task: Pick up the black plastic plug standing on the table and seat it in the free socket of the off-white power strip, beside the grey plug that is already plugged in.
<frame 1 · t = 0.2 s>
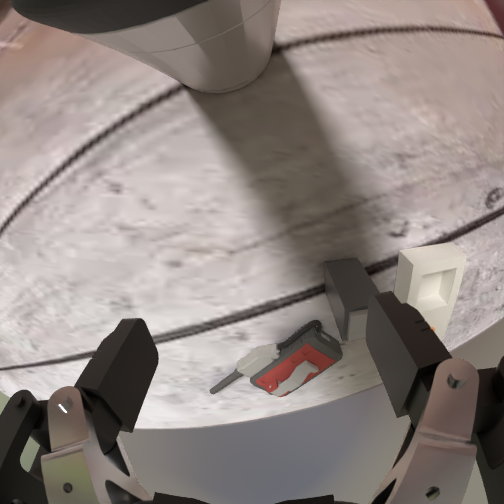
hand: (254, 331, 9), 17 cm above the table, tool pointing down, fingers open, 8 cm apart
power strip: (415, 308, 30), on the table
walkie-talkie: (272, 363, 35), on the table
plug: (340, 274, 28), on the table
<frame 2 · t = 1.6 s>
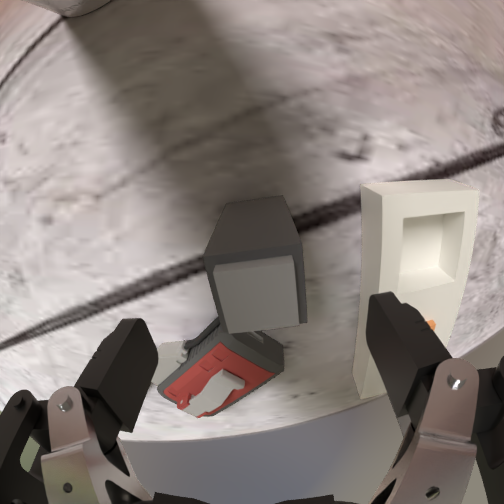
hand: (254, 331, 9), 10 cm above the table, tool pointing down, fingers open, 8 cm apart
power strip: (403, 291, 20), on the table
walkie-talkie: (192, 369, 24), on the table
plug: (258, 226, 18), on the table
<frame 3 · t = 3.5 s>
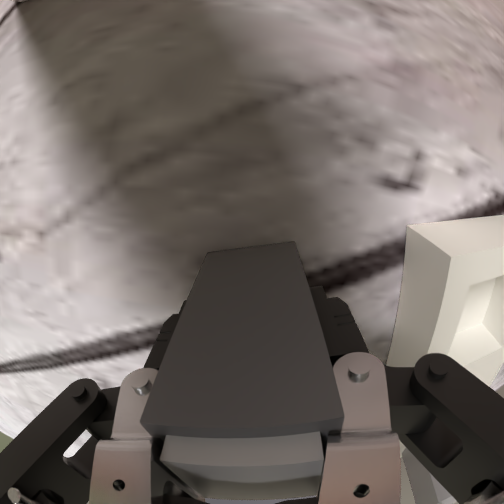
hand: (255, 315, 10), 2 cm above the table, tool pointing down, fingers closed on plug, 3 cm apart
power strip: (436, 352, 14), on the table
plug: (256, 285, 12), on the table, touching gripper
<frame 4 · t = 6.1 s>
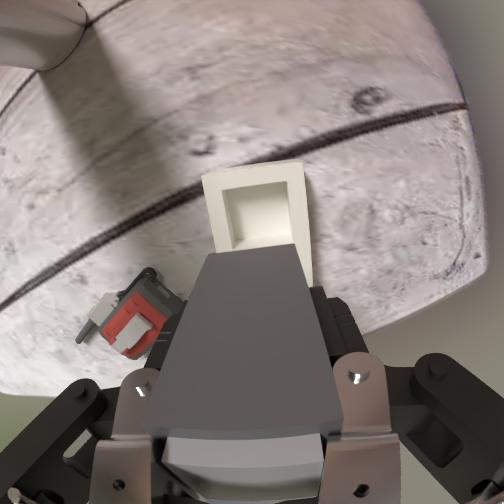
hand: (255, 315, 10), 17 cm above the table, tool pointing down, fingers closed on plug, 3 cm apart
power strip: (265, 255, 27), on the table
walkie-talkie: (126, 319, 32), on the table
plug: (256, 286, 12), point 14 cm above the table, touching gripper
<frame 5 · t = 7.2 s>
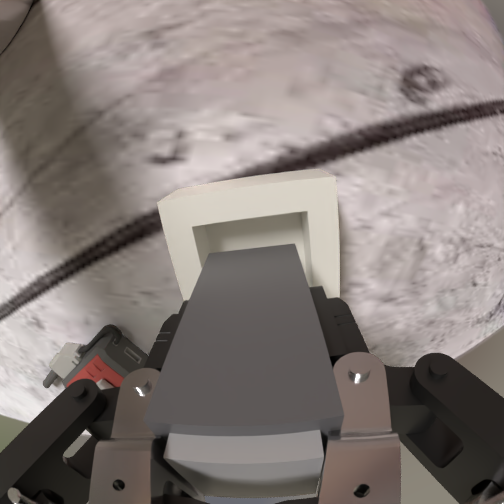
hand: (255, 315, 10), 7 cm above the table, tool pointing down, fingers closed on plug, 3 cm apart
power strip: (267, 313, 18), on the table
walkie-talkie: (94, 371, 23), on the table
plug: (256, 286, 12), point 5 cm above the table, touching gripper
when the fingers open (5 cm above the table, at t = 8.3 s): plug drops 1 cm, resting on power strip.
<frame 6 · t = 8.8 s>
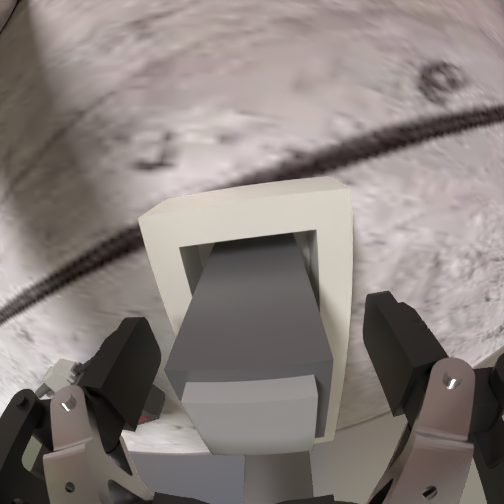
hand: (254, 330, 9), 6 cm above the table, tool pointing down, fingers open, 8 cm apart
power strip: (267, 335, 16), on the table
walkie-talkie: (89, 387, 21), on the table
plug: (258, 271, 13), point 1 cm above the table, touching power strip
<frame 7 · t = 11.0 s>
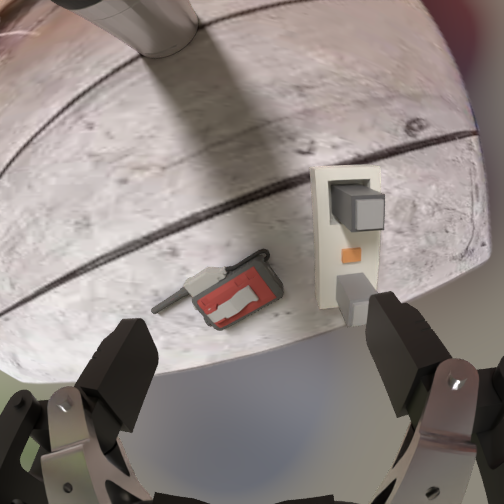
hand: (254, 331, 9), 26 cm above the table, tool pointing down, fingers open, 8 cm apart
power strip: (342, 233, 34), on the table
walkie-talkie: (216, 293, 39), on the table
plug: (345, 198, 32), point 1 cm above the table, touching power strip
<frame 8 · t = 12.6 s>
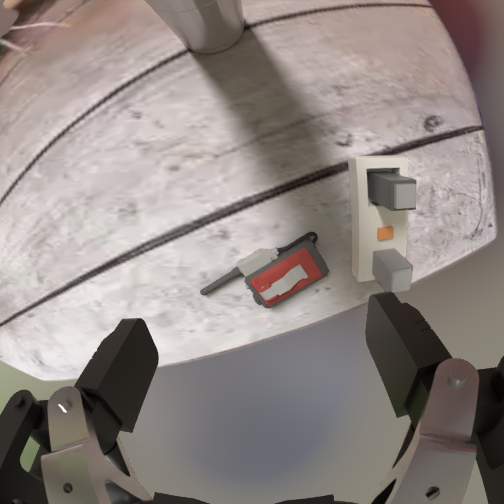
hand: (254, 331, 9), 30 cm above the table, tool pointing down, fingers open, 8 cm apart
power strip: (375, 215, 38), on the table
walkie-talkie: (265, 273, 43), on the table
plug: (377, 184, 35), point 1 cm above the table, touching power strip
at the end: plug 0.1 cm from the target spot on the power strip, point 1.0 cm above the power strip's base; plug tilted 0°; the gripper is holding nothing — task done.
